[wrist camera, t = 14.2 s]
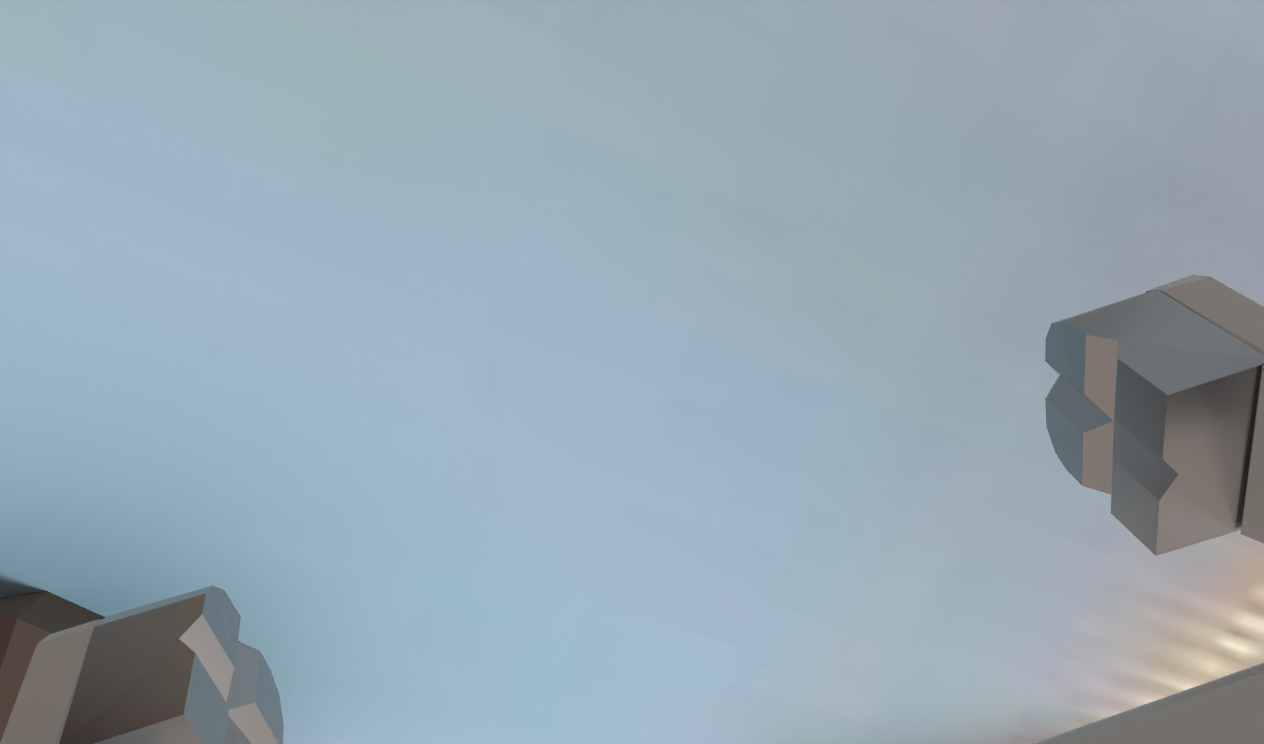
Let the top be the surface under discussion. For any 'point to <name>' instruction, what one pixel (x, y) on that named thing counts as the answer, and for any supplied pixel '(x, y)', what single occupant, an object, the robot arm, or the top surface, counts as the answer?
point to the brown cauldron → (29, 637)
